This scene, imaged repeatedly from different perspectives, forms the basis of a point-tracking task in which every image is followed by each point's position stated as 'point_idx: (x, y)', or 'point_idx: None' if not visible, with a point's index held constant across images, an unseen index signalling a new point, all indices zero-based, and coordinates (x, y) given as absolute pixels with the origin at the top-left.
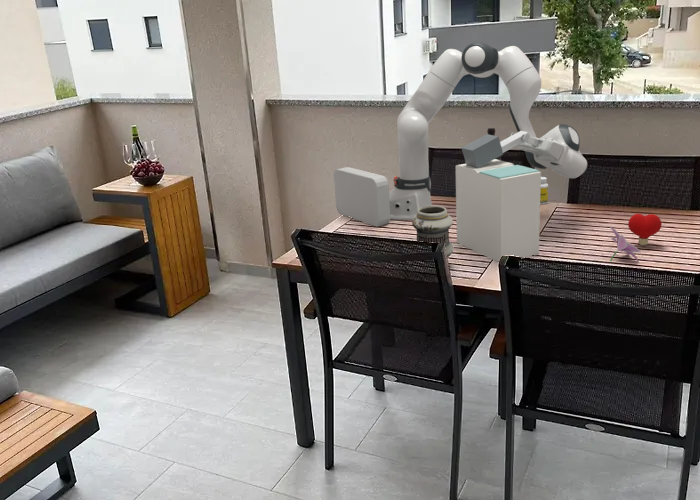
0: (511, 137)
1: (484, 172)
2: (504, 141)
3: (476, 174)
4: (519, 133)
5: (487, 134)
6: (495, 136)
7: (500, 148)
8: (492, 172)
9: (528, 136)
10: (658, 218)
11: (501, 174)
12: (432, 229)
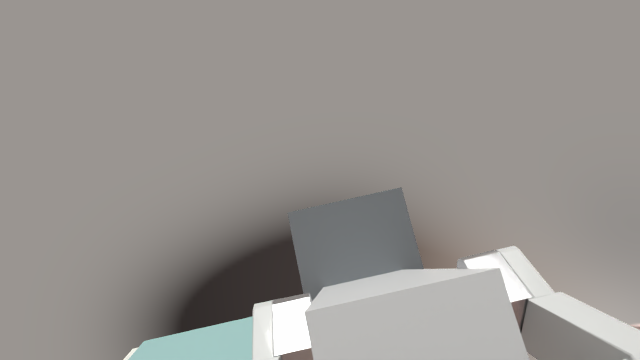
0: (402, 277)
1: (243, 320)
2: (387, 276)
3: None
4: (417, 281)
5: (393, 189)
6: (310, 208)
7: (302, 287)
8: (218, 336)
9: (253, 344)
10: None
11: (165, 351)
12: None
